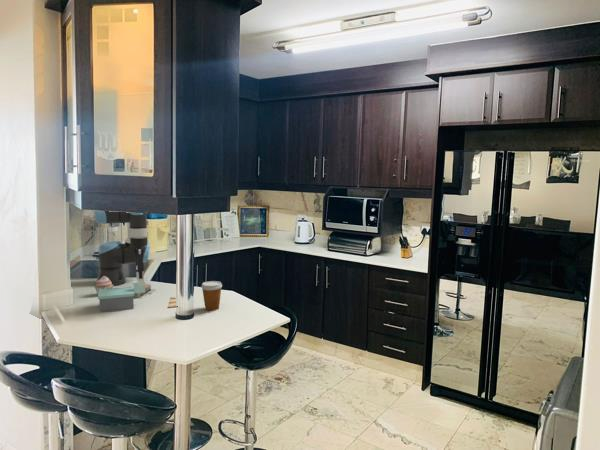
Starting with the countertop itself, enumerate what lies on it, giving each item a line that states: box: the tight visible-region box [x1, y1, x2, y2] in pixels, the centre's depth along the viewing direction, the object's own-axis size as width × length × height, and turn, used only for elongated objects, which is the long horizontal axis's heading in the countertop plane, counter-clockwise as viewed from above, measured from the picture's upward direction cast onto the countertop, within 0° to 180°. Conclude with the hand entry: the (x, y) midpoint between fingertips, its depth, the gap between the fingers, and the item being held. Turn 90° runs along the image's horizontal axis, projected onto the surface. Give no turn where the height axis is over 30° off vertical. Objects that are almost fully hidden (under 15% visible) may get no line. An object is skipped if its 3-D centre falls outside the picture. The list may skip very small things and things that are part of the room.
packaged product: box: [133, 283, 157, 299], centre depth 231 cm, size 18×5×10 cm
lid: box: [97, 279, 146, 300], centre depth 209 cm, size 13×20×5 cm, turn 112°
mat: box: [167, 296, 177, 309], centre depth 217 cm, size 16×18×1 cm
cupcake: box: [93, 276, 114, 296], centre depth 231 cm, size 9×9×10 cm
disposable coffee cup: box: [201, 280, 223, 311], centre depth 210 cm, size 10×10×12 cm
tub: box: [98, 296, 134, 313], centre depth 209 cm, size 12×14×7 cm
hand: (140, 282), depth 211 cm, fingers open, 13 cm apart
